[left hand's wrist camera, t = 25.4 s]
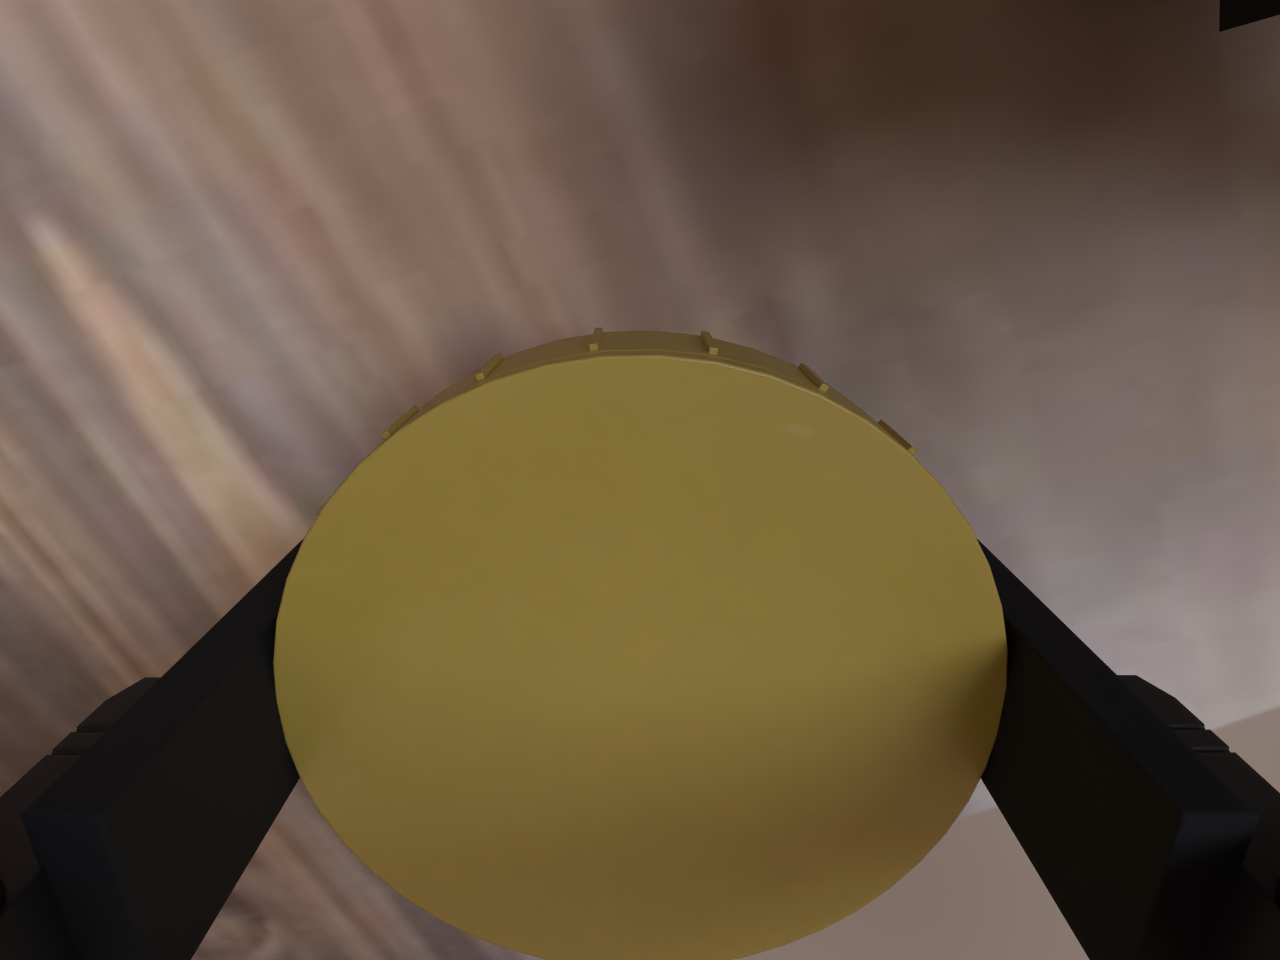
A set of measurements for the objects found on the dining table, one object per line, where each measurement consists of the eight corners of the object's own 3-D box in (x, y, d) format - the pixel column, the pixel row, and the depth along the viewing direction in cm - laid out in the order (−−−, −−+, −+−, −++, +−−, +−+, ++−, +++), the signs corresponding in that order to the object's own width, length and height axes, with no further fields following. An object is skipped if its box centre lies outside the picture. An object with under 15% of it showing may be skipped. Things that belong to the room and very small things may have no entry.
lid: (1053, 392, 11) (1136, 428, 9) (855, 909, 14) (885, 1007, 13) (333, 263, 10) (267, 274, 8) (318, 839, 14) (270, 931, 12)
